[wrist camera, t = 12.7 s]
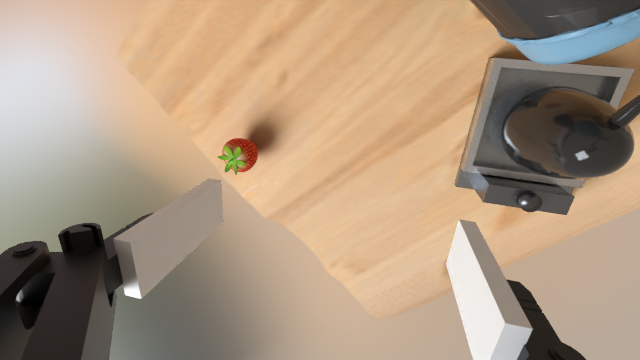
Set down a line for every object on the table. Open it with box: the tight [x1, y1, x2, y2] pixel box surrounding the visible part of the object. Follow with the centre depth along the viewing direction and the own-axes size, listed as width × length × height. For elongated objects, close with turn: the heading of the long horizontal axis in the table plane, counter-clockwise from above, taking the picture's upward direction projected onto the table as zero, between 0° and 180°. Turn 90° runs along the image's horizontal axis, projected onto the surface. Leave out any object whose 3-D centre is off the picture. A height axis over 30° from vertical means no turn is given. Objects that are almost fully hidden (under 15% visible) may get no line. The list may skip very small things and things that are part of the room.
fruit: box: [218, 138, 258, 174], centre depth 48 cm, size 5×5×8 cm
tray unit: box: [455, 58, 635, 215], centre depth 38 cm, size 18×15×7 cm
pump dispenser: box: [501, 86, 640, 179], centre depth 33 cm, size 10×10×15 cm
